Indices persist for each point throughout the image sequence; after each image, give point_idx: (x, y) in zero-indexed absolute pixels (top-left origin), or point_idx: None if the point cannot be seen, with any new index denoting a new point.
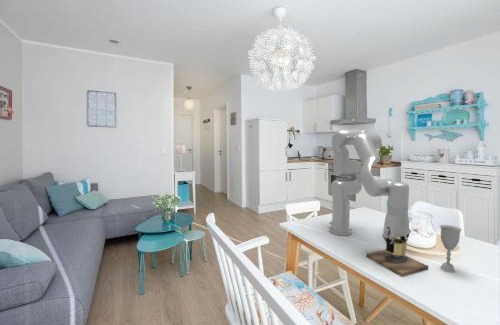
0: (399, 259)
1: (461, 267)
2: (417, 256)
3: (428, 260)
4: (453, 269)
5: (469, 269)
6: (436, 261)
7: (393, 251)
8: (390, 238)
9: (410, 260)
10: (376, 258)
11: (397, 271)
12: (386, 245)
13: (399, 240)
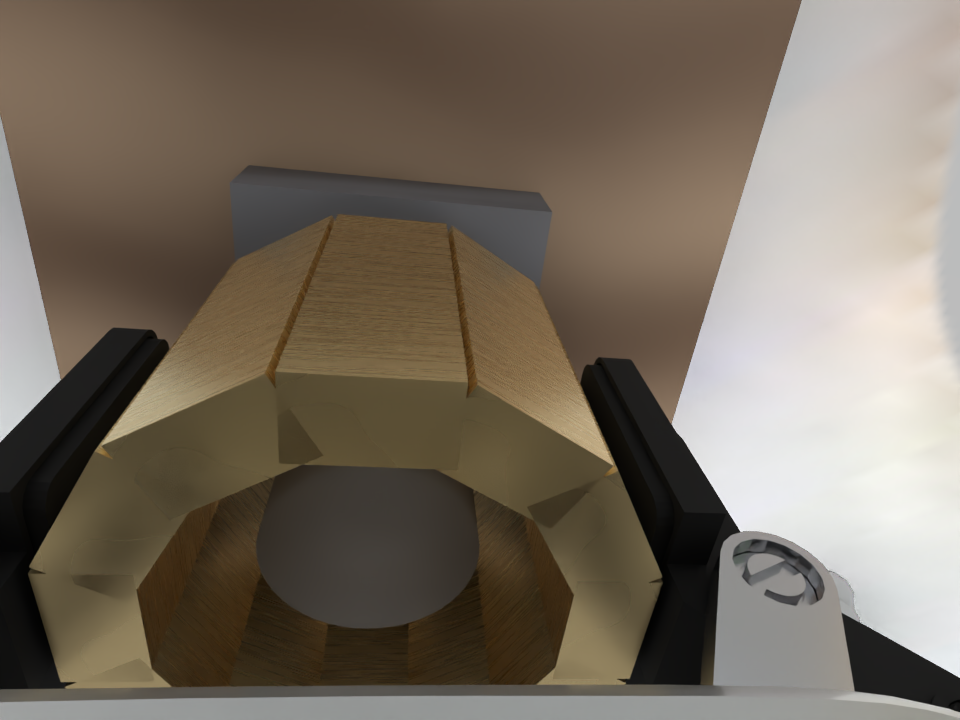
0: None
1: (945, 634)
2: (920, 307)
3: (884, 437)
4: None
5: (948, 670)
6: (925, 487)
7: None
8: (349, 416)
9: None
10: (23, 105)
11: None
12: (49, 396)
13: (562, 578)
